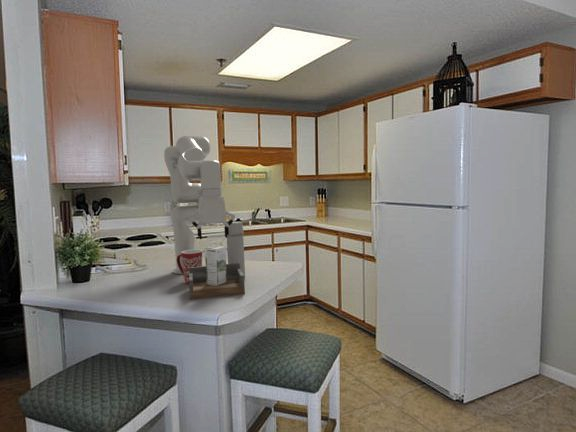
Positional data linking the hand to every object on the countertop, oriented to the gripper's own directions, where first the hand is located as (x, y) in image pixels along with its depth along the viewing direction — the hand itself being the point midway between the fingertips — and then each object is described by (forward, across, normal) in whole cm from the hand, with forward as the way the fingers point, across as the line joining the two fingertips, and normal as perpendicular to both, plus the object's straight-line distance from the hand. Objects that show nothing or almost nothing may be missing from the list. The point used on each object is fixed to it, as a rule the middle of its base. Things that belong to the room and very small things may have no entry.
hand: (213, 237), depth 151 cm
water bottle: (+22, +10, +15) cm, 28 cm away
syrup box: (+18, 0, -1) cm, 18 cm away
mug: (+22, -10, +19) cm, 31 cm away
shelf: (+21, 0, -1) cm, 21 cm away
